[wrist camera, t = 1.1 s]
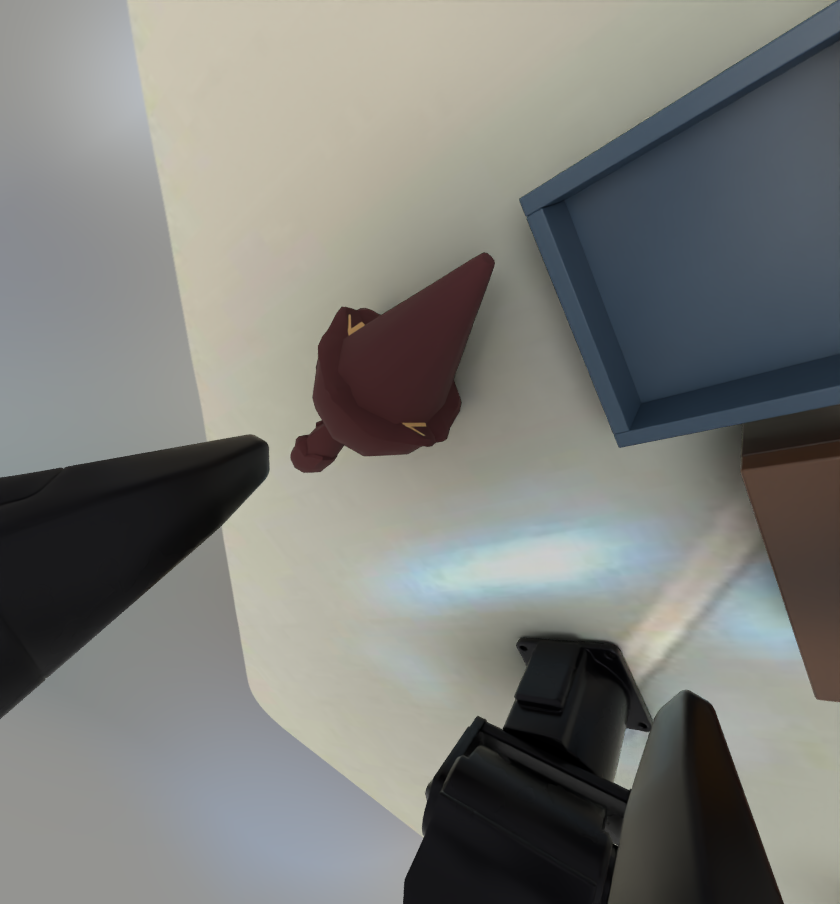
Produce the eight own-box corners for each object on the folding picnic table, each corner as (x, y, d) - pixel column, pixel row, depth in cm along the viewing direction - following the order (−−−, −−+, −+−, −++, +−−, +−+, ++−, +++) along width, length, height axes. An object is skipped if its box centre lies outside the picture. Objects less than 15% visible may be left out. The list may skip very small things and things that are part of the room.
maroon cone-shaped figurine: (350, 166, 14) (245, 414, 26) (482, 370, 13) (311, 533, 24) (492, 178, 19) (348, 384, 30) (600, 330, 17) (408, 484, 29)
